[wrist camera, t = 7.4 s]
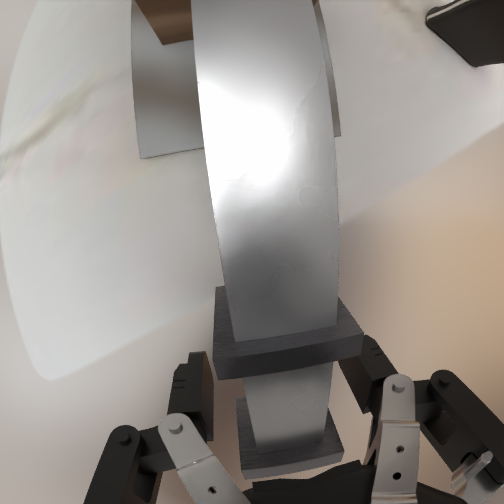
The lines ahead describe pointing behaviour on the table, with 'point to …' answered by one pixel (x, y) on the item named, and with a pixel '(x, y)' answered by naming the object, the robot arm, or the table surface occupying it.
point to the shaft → (274, 227)
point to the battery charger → (472, 29)
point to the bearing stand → (179, 77)
